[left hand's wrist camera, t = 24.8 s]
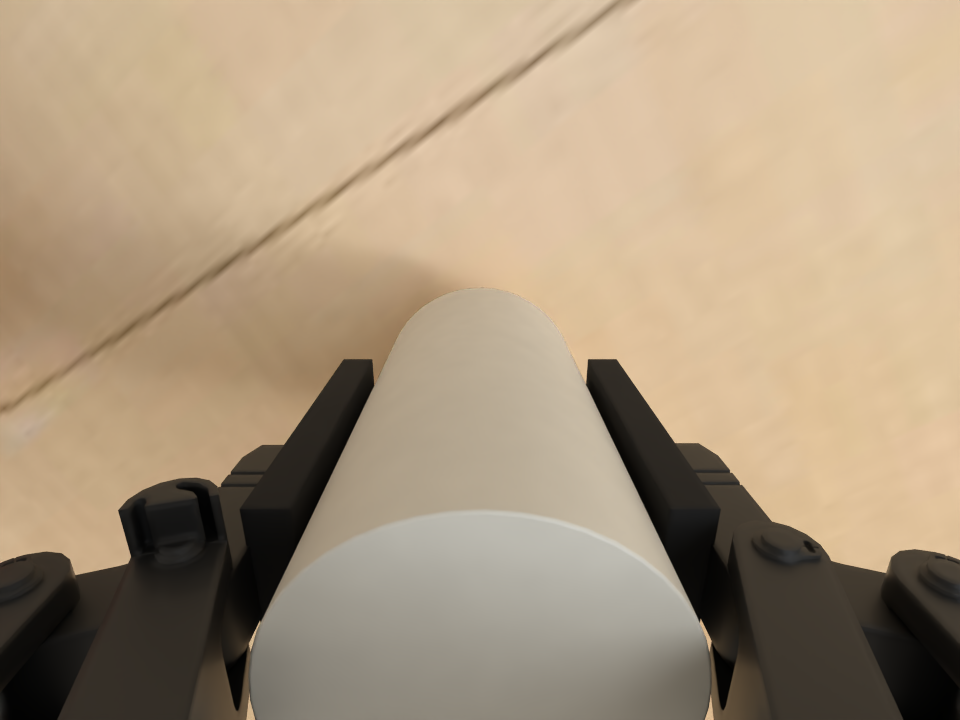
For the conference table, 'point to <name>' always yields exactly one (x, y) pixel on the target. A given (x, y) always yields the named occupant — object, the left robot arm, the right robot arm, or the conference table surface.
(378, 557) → the can
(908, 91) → the conference table surface
